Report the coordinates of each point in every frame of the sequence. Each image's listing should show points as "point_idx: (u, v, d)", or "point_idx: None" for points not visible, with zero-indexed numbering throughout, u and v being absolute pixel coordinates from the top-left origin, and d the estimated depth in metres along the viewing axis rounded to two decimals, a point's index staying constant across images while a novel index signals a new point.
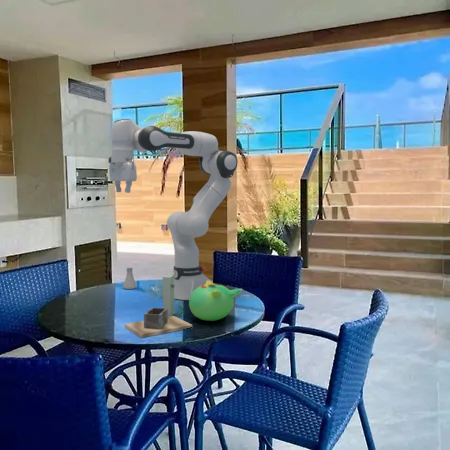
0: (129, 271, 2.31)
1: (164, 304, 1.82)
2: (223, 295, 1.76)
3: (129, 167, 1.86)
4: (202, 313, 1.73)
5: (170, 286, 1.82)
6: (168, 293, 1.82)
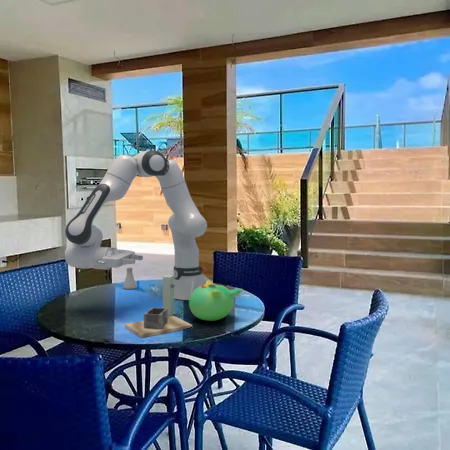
0: (129, 271, 2.31)
1: (164, 304, 1.82)
2: (223, 295, 1.76)
3: (104, 265, 1.78)
4: (202, 313, 1.73)
5: (170, 286, 1.82)
6: (168, 293, 1.82)
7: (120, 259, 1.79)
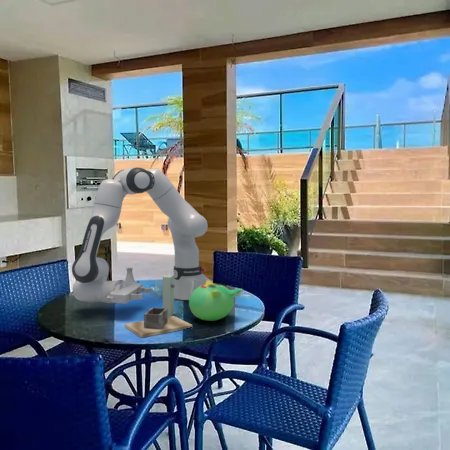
0: (129, 271, 2.31)
1: (164, 304, 1.82)
2: (223, 295, 1.76)
3: (113, 301, 1.78)
4: (202, 313, 1.73)
5: (170, 286, 1.82)
6: (168, 293, 1.82)
7: (128, 294, 1.80)
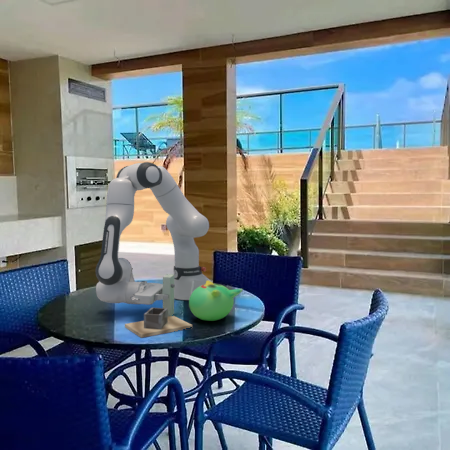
0: None
1: (164, 304, 1.82)
2: (223, 295, 1.76)
3: (138, 302, 1.77)
4: (202, 313, 1.73)
5: (170, 286, 1.82)
6: (168, 293, 1.82)
7: (153, 295, 1.78)
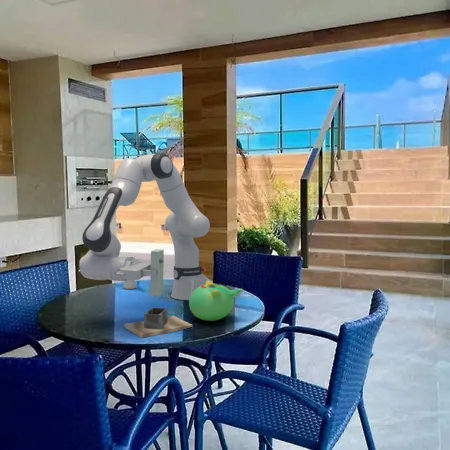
0: None
1: (152, 281, 1.68)
2: (223, 295, 1.76)
3: (123, 277, 1.62)
4: (202, 313, 1.73)
5: (159, 261, 1.67)
6: (156, 269, 1.67)
7: (140, 271, 1.64)
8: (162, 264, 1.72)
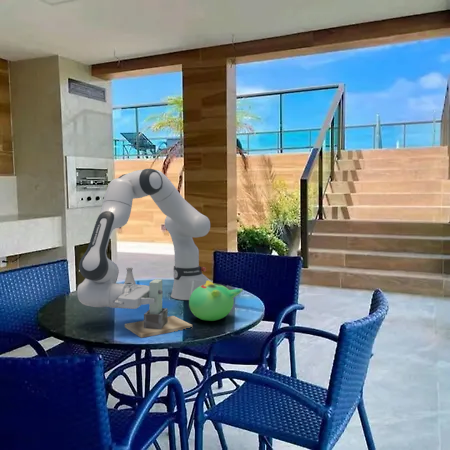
0: (129, 271, 2.31)
1: (151, 312, 1.66)
2: (223, 295, 1.76)
3: (121, 306, 1.61)
4: (202, 313, 1.73)
5: (157, 292, 1.66)
6: (155, 300, 1.66)
7: (139, 299, 1.62)
8: (161, 294, 1.70)
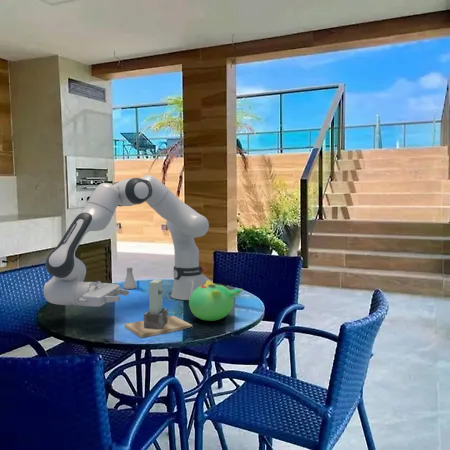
0: (129, 271, 2.31)
1: (151, 312, 1.66)
2: (223, 295, 1.76)
3: (85, 304, 1.63)
4: (202, 313, 1.73)
5: (157, 292, 1.66)
6: (155, 300, 1.66)
7: (103, 297, 1.64)
8: (161, 294, 1.70)
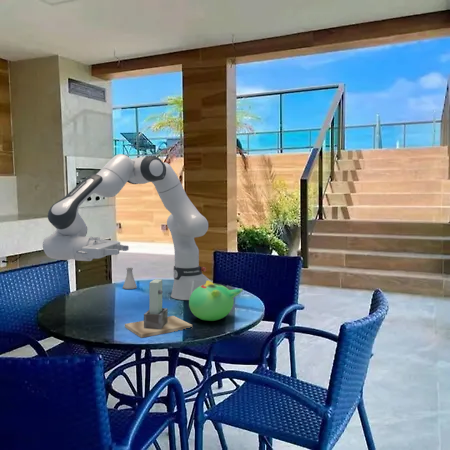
0: (129, 271, 2.31)
1: (151, 312, 1.66)
2: (223, 295, 1.76)
3: (85, 256, 1.61)
4: (202, 313, 1.73)
5: (157, 292, 1.66)
6: (155, 300, 1.66)
7: (102, 249, 1.62)
8: (161, 294, 1.70)
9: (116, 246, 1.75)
